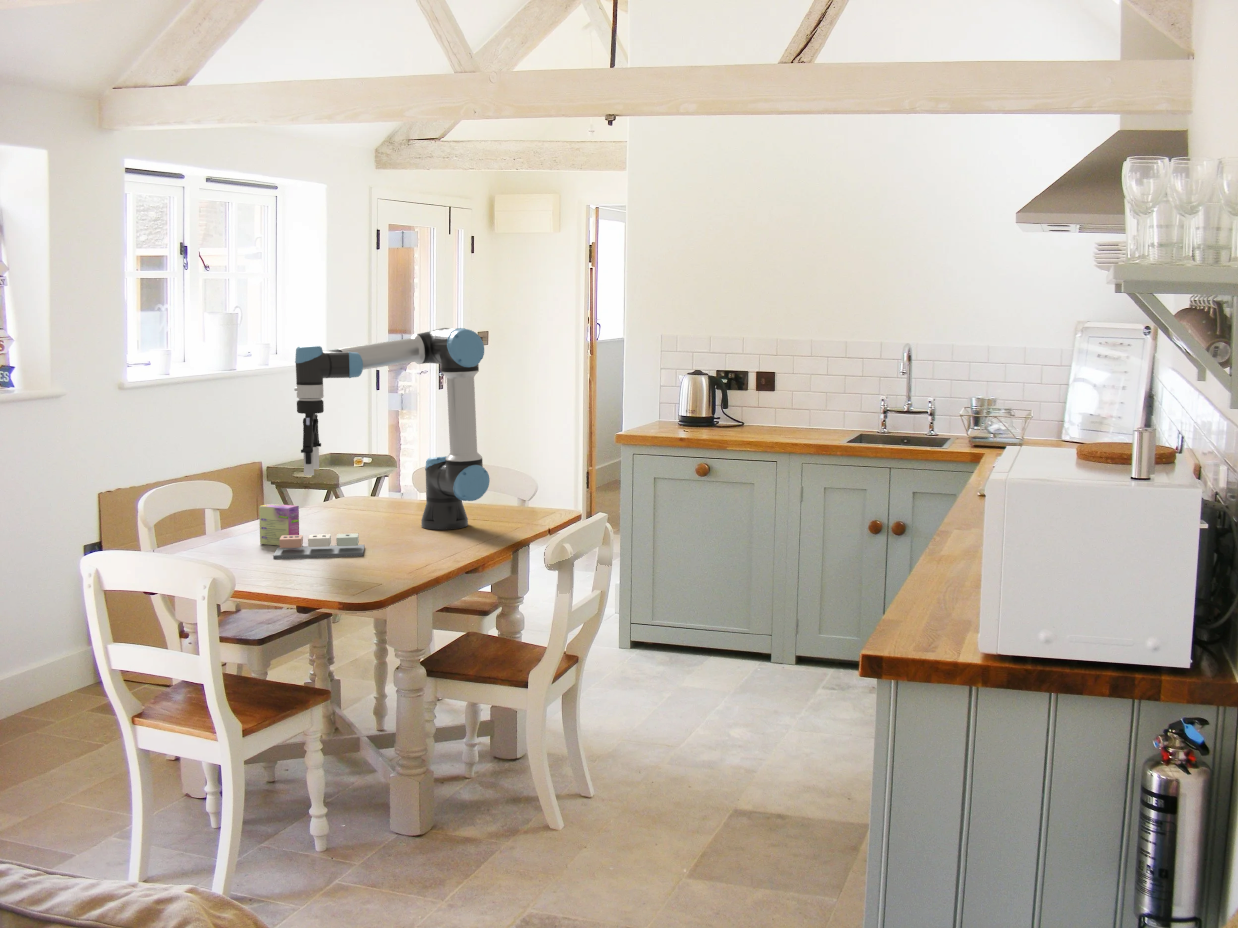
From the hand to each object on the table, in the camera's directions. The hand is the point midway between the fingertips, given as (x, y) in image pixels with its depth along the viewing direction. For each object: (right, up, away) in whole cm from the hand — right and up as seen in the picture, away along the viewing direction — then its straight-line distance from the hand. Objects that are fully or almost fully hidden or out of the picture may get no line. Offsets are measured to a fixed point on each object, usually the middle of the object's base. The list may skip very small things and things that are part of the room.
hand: (311, 472), depth 349 cm
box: (-13, -22, +14) cm, 29 cm away
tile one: (+10, -21, +1) cm, 23 cm away
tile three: (-6, -21, -1) cm, 22 cm away
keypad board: (+2, -24, 0) cm, 24 cm away
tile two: (+2, -21, 0) cm, 21 cm away
